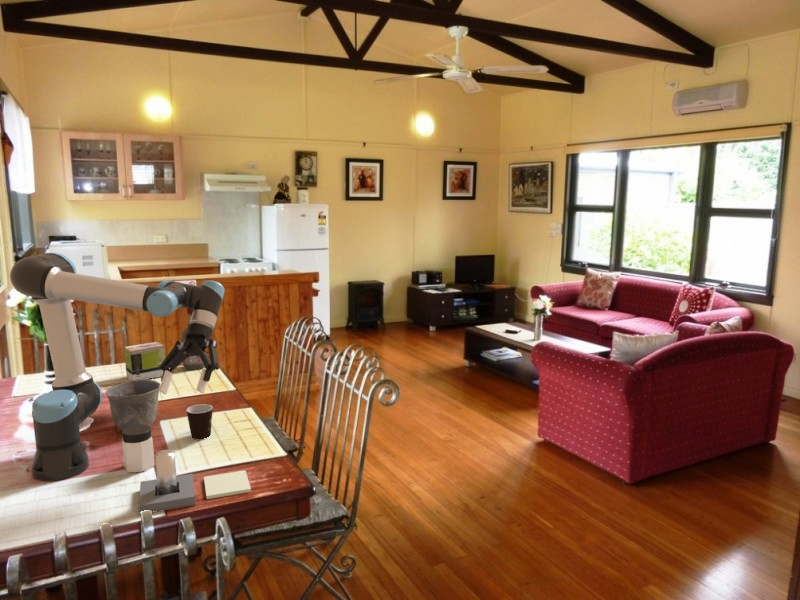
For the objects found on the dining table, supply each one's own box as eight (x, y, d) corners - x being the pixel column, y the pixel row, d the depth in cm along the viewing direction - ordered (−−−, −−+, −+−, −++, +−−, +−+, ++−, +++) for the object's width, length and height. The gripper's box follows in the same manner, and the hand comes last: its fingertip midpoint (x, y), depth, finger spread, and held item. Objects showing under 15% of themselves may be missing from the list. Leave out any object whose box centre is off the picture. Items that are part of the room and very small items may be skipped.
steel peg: (158, 503, 161) (155, 458, 159) (158, 494, 166) (155, 451, 164) (177, 500, 163) (174, 455, 161) (177, 491, 168) (174, 448, 165)
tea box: (159, 371, 279) (157, 340, 276) (167, 376, 271) (165, 345, 269) (125, 377, 269) (123, 345, 267) (132, 382, 262) (130, 350, 259)
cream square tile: (206, 499, 164) (206, 496, 163) (203, 479, 175) (203, 476, 174) (251, 491, 168) (250, 488, 168) (245, 473, 179) (245, 470, 179)
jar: (158, 460, 187) (155, 424, 185) (150, 472, 179) (147, 434, 177) (128, 461, 186) (126, 425, 184) (119, 473, 178) (116, 435, 176)
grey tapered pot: (108, 422, 217) (105, 383, 214) (160, 414, 225) (157, 377, 222) (110, 440, 201) (106, 398, 199) (165, 431, 209) (162, 391, 207)
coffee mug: (206, 442, 201) (204, 414, 199) (183, 439, 203) (181, 412, 201) (222, 429, 212) (221, 402, 210) (200, 426, 214) (199, 400, 212)
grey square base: (139, 514, 156) (138, 505, 155) (141, 489, 168) (140, 481, 168) (195, 504, 161) (195, 496, 160) (193, 481, 173) (192, 473, 173)
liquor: (206, 368, 284) (202, 307, 278) (186, 371, 279) (182, 309, 274) (201, 363, 291) (198, 304, 286) (182, 366, 287) (179, 305, 282)
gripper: (241, 330, 182) (224, 396, 172) (176, 334, 191) (155, 397, 180) (227, 319, 176) (208, 386, 166) (161, 324, 185) (138, 388, 174)
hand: (181, 392), depth 173 cm, fingers open, 13 cm apart
